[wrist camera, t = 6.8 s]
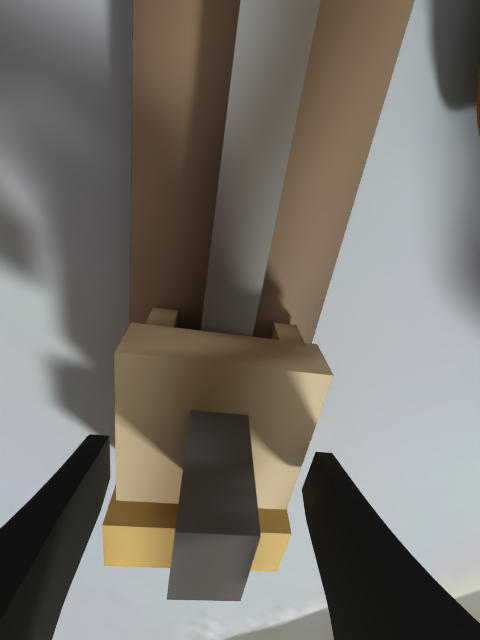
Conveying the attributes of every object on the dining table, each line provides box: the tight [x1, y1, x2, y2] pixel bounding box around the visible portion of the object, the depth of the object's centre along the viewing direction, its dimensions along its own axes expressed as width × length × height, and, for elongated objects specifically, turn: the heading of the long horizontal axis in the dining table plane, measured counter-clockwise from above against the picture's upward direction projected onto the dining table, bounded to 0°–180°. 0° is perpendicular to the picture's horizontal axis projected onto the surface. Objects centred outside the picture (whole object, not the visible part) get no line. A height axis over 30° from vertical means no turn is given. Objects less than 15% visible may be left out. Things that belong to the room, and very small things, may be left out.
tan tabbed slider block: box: [114, 307, 333, 601], centre depth 11 cm, size 7×7×8 cm
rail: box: [102, 0, 414, 571], centre depth 11 cm, size 8×28×6 cm, turn 171°
